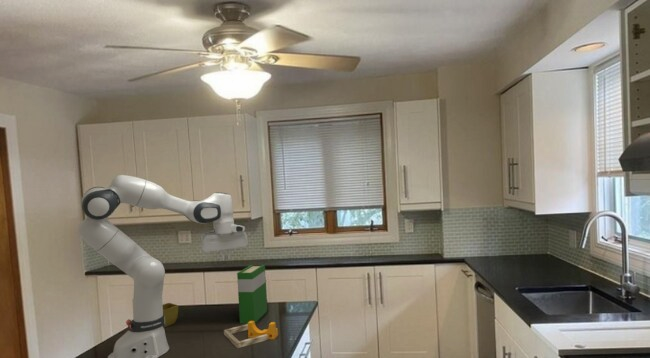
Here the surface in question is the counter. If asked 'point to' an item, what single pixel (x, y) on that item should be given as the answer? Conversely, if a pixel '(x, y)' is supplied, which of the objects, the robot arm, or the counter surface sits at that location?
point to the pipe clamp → (255, 332)
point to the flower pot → (170, 313)
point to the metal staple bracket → (243, 343)
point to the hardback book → (252, 293)
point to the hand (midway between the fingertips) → (225, 260)
